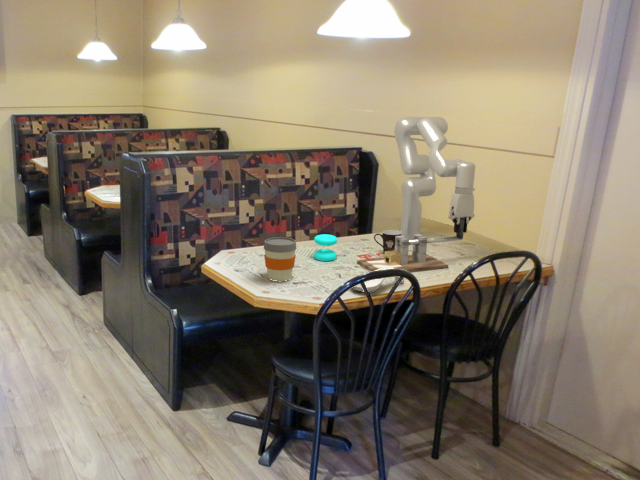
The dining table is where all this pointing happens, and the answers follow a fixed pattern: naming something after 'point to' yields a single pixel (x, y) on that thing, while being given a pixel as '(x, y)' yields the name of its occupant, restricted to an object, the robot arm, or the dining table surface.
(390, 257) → the block
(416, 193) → the robot arm
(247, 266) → the dining table surface
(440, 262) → the wooden base with brackets
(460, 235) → the shaft
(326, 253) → the turquoise hourglass
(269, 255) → the reusable coffee cup
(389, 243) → the coffee mug
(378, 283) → the spoon rest
